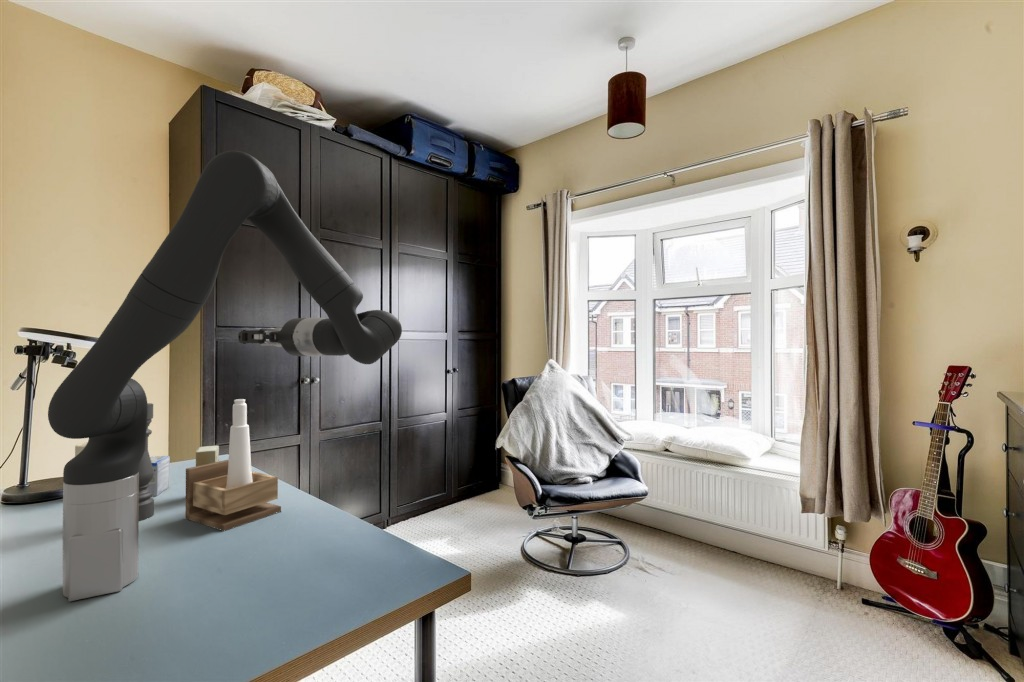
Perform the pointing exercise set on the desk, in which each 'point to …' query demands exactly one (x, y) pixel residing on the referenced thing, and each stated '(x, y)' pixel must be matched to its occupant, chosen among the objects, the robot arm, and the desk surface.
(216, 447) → the skincare box
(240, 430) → the cosmetic bottle
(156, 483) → the medicine box
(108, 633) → the desk surface
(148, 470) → the candle holder
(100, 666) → the desk surface
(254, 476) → the wooden box caddy
